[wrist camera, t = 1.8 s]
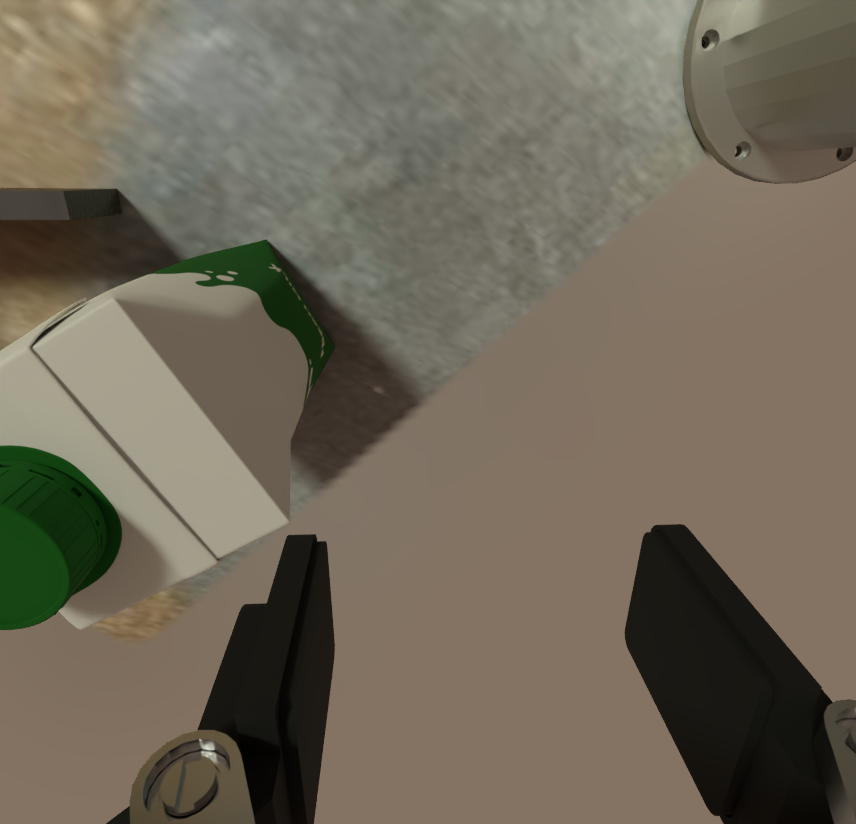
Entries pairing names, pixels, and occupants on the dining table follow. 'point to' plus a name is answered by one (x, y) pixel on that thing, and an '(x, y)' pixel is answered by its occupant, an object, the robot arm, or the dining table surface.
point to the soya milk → (150, 433)
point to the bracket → (57, 203)
